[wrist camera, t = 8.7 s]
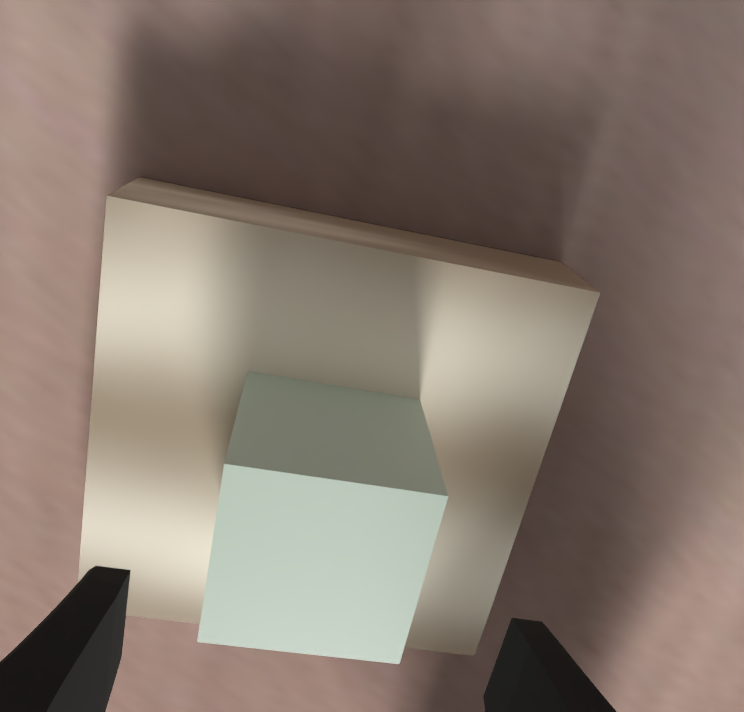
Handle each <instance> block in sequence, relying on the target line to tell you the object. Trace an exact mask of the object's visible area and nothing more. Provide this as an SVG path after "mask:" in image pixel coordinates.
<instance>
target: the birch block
mask: <svg viewBox="0 0 744 712" xmlns="http://www.w3.org/2000/svg"><path fill="white" fill-rule="evenodd" d="M599 296H600V292H599V291H598V290H596V289H595V288H594V287H593V286H591V285H590V284H589V283H588V282H586V281H585V280H584V279H583V278H581V277H580V276H579V275H578V274H576V273H575V272H574V271H573V270H571V269H570V268H569V267H568V266H566V265H565V264H564V263H563V262H558V261H553V260H549V259H544V258H539V257H534V256H529V255H524V254H519V253H514V252H509V251H504V250H499V249H494V248H489V247H484V246H479V245H474V244H469V243H464V242H459V241H454V240H449V239H444V238H439V237H434V236H429V235H424V234H419V233H415V232H410V231H405V230H400V229H395V228H390V227H385V226H380V225H375V224H370V223H365V222H360V221H355V220H350V219H345V218H340V217H335V216H330V215H325V214H320V213H315V212H310V211H305V210H300V209H295V208H290V207H285V206H280V205H276V204H271V203H266V202H261V201H256V200H251V199H246V198H241V197H236V196H231V195H226V194H221V193H216V192H211V191H206V190H201V189H196V188H191V187H186V186H181V185H176V184H171V183H166V182H161V181H156V180H151V179H146V178H142V177H138V178H137V179H135V180H133V181H131V182H130V183H128V184H126V185H124V186H123V187H121V188H119V189H117V190H116V191H114V192H112V193H110V194H109V195H107V199H106V212H105V226H104V239H103V252H102V266H101V279H100V293H99V306H98V320H97V333H96V347H95V360H94V374H93V387H92V401H91V414H90V428H89V441H88V455H87V468H86V482H85V495H84V509H83V522H82V536H81V549H80V563H79V576H78V582H79V581H80V580H81V579H82V578H83V576H84V575H85V574H86V573H87V572H88V570H90V569H91V568H93V567H94V566H103V567H110V568H118V569H126V570H131V571H130V581H129V590H128V599H127V609H126V615H127V616H135V617H144V618H153V619H161V620H170V621H178V622H187V623H195V624H200V620H201V613H202V607H203V600H204V593H205V587H206V580H207V573H208V567H209V560H210V554H211V547H212V540H213V534H214V527H215V521H216V514H217V507H218V501H219V494H220V488H221V481H222V474H223V468H224V462H225V458H226V454H227V450H228V446H229V442H230V438H231V435H232V431H233V427H234V423H235V419H236V415H237V411H238V407H239V403H240V399H241V395H242V391H243V387H244V383H245V379H246V375H247V371H250V372H256V373H263V374H269V375H275V376H281V377H287V378H293V379H299V380H305V381H311V382H318V383H324V384H330V385H336V386H342V387H348V388H354V389H360V390H366V391H373V392H379V393H385V394H391V395H397V396H403V397H409V398H415V399H420V401H421V405H422V408H423V411H424V415H425V418H426V422H427V425H428V428H429V432H430V435H431V439H432V442H433V445H434V449H435V452H436V456H437V459H438V463H439V466H440V469H441V473H442V476H443V480H444V483H445V486H446V490H447V493H448V499H447V503H446V506H445V510H444V513H443V517H442V520H441V523H440V527H439V530H438V534H437V537H436V541H435V544H434V547H433V551H432V554H431V558H430V561H429V565H428V568H427V571H426V575H425V578H424V582H423V585H422V589H421V592H420V595H419V599H418V602H417V606H416V609H415V613H414V616H413V619H412V623H411V626H410V630H409V633H408V637H407V640H406V643H405V647H404V648H410V649H419V650H427V651H436V652H444V653H453V654H461V655H470V656H475V653H476V651H477V648H478V645H479V642H480V639H481V636H482V633H483V630H484V627H485V625H486V622H487V619H488V616H489V613H490V610H491V607H492V604H493V601H494V599H495V596H496V593H497V590H498V587H499V584H500V581H501V578H502V576H503V573H504V570H505V567H506V564H507V561H508V558H509V555H510V552H511V550H512V547H513V544H514V541H515V538H516V535H517V532H518V529H519V526H520V524H521V521H522V518H523V515H524V512H525V509H526V506H527V503H528V500H529V498H530V495H531V492H532V489H533V486H534V483H535V480H536V477H537V474H538V472H539V469H540V466H541V463H542V460H543V457H544V454H545V451H546V448H547V446H548V443H549V440H550V437H551V434H552V431H553V428H554V425H555V423H556V420H557V417H558V414H559V411H560V408H561V405H562V402H563V399H564V397H565V394H566V391H567V388H568V385H569V382H570V379H571V376H572V373H573V371H574V368H575V365H576V362H577V359H578V356H579V353H580V350H581V347H582V345H583V342H584V339H585V336H586V333H587V330H588V327H589V324H590V321H591V319H592V316H593V313H594V310H595V307H596V304H597V301H598V298H599Z"/></svg>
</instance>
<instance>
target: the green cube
mask: <svg viewBox="0 0 744 712" xmlns="http://www.w3.org/2000/svg"><path fill="white" fill-rule="evenodd" d="M447 499H448V493H447V490H446V486H445V483H444V480H443V476H442V473H441V469H440V466H439V463H438V459H437V456H436V452H435V449H434V445H433V442H432V439H431V435H430V432H429V428H428V425H427V422H426V418H425V415H424V411H423V408H422V405H421V401H420V399H415V398H409V397H403V396H397V395H391V394H385V393H379V392H373V391H366V390H360V389H354V388H348V387H342V386H336V385H330V384H324V383H318V382H311V381H305V380H299V379H293V378H287V377H281V376H275V375H269V374H263V373H256V372H250V371H247V375H246V379H245V383H244V387H243V391H242V395H241V399H240V403H239V407H238V411H237V415H236V419H235V423H234V427H233V431H232V435H231V438H230V442H229V446H228V450H227V454H226V458H225V462H224V468H223V474H222V481H221V488H220V494H219V501H218V507H217V514H216V521H215V527H214V534H213V540H212V547H211V554H210V560H209V567H208V573H207V580H206V587H205V593H204V600H203V607H202V613H201V620H200V626H199V633H198V640H197V642H202V643H211V644H220V645H229V646H238V647H247V648H257V649H266V650H275V651H284V652H293V653H302V654H311V655H320V656H329V657H339V658H348V659H357V660H366V661H375V662H384V663H393V664H400V661H401V657H402V654H403V650H404V647H405V643H406V640H407V637H408V633H409V630H410V626H411V623H412V619H413V616H414V613H415V609H416V606H417V602H418V599H419V595H420V592H421V589H422V585H423V582H424V578H425V575H426V571H427V568H428V565H429V561H430V558H431V554H432V551H433V547H434V544H435V541H436V537H437V534H438V530H439V527H440V523H441V520H442V517H443V513H444V510H445V506H446V503H447Z"/></svg>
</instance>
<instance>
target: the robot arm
mask: <svg viewBox="0 0 744 712" xmlns="http://www.w3.org/2000/svg"><path fill="white" fill-rule="evenodd" d="M130 571H131V570H126V569H118V568H110V567H103V566H94V567H93V568H91V569H90V570H88V572H87V573H86V574H85V575H84V576H83V578H82V579H81V580H80V581H79V582H78V583H77V585H76V586H75V587H74V588H73V589H72V590H71V591H70V593H69V594H68V595H67V596H66V597H65V598H64V599H63V600H62V601H61V602H60V603H59V605H58V606H57V607H56V608H55V609H54V610H53V611H52V612H51V613H50V614H49V615H48V616H47V617H46V618H45V619H44V620H43V621H42V622H41V623H40V624H39V625H38V626H37V627H36V628H35V629H34V630H33V631H32V632H31V633H30V634H29V635H28V636H27V637H26V638H25V639H24V640H23V641H22V642H21V643H20V644H19V645H18V646H17V647H16V648H15V649H14V650H13V651H12V652H11V653H9V654H8V655H7V656H6V657H5V658H4V659H3V660H2V661H1V662H0V712H105V710H106V707H107V704H108V701H109V697H110V694H111V691H112V687H113V684H114V680H115V677H116V674H117V670H118V667H119V663H120V660H121V655H122V646H123V637H124V627H125V618H126V609H127V599H128V590H129V581H130ZM484 704H485V712H616V711H615V709H614V708H613V707H612V706H611V705H610V704H609V702H608V701H607V700H606V699H605V698H604V696H603V695H602V694H601V693H600V692H599V691H598V689H597V688H596V687H595V686H594V684H593V683H592V682H591V681H590V680H589V678H588V677H587V676H586V675H585V674H584V672H583V671H582V670H581V669H580V667H579V666H578V665H577V664H576V663H575V661H574V660H573V659H572V658H571V656H570V655H569V654H568V653H567V651H566V650H565V649H564V648H563V646H562V645H561V644H560V643H559V642H558V640H557V639H556V638H555V637H554V635H553V634H552V633H551V632H550V631H549V630H548V628H547V627H546V626H545V625H544V624H543V623H542V622H540V621H532V620H524V619H516V618H512V619H511V622H510V625H509V628H508V630H507V633H506V636H505V639H504V641H503V644H502V647H501V650H500V652H499V655H498V658H497V661H496V664H495V666H494V669H493V672H492V675H491V677H490V680H489V683H488V686H487V688H486V691H485V694H484Z"/></svg>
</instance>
